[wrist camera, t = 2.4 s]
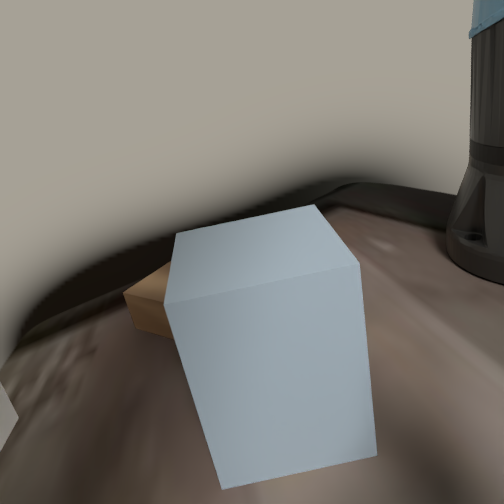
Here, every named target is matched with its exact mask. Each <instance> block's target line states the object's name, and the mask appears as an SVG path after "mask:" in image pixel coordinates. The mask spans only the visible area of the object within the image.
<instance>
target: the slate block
mask: <svg viewBox="0 0 504 504" xmlns="http://www.w3.org/2000/svg"><path fill="white" fill-rule="evenodd" d="M164 308H165V311H166V314H167V317H168V320H169V324H170V327H171V330H172V333H173V336H174V339H175V343H176V346H177V349H178V352H179V355H180V358H181V361H182V365H183V368H184V371H185V374H186V377H187V380H188V384H189V387H190V390H191V393H192V396H193V399H194V403H195V406H196V409H197V412H198V415H199V418H200V421H201V425H202V428H203V431H204V434H205V437H206V440H207V444H208V447H209V450H210V453H211V456H212V459H213V463H214V466H215V469H216V472H217V475H218V478H219V482H220V485H221V488H222V490H223V489H227V488H232V487H236V486H241V485H245V484H250V483H254V482H259V481H264V480H268V479H273V478H277V477H282V476H286V475H291V474H296V473H300V472H305V471H309V470H314V469H318V468H323V467H328V466H332V465H337V464H341V463H346V462H350V461H355V460H359V459H364V458H369V457H373V456H377V446H376V435H375V424H374V413H373V403H372V392H371V381H370V370H369V360H368V349H367V338H366V327H365V316H364V306H363V295H362V284H361V273H360V263H359V262H358V260H357V259H356V258H355V257H354V255H353V254H352V253H351V251H350V250H349V249H348V248H347V246H346V245H345V244H344V242H343V241H342V240H341V239H340V237H339V236H338V235H337V233H336V232H335V231H334V230H333V228H332V227H331V226H330V224H329V223H328V222H327V221H326V219H325V218H324V217H323V215H322V214H321V213H320V211H319V210H318V209H317V208H316V206H315V205H309V206H304V207H299V208H295V209H290V210H285V211H281V212H276V213H271V214H267V215H261V216H257V217H252V218H247V219H242V220H238V221H233V222H228V223H224V224H219V225H214V226H209V227H204V228H200V229H195V230H190V231H185V232H181V233H177V234H176V240H175V245H174V250H173V256H172V261H171V267H170V272H169V278H168V283H167V289H166V294H165V300H164Z"/></svg>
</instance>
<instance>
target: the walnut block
mask: <svg viewBox="0 0 504 504" xmlns="http://www.w3.org/2000/svg"><path fill="white" fill-rule="evenodd" d="M170 267H171V261H170V262H169V263H167V264H166V265H164V266H163V267H161V268H160V269H158V270H157V271H155V272H154V273H152V274H151V275H149V276H147V277H146V278H144V279H143V280H141V281H140V282H138V283H137V284H135V285H134V286H132V287H131V288H129V289H128V290H126V291H125V292H123V295H124V297H125V300H126V303H127V306H128V309H129V311H130V314H131V317H132V320H133V322H134V325H135V328H137V329H140V330H143V331H146V332H150V333H153V334H156V335H160V336H163V337H166V338H170V339H173V340H175V339H174V336H173V333H172V330H171V327H170V324H169V320H168V317H167V314H166V311H165V308H164V300H165V294H166V289H167V283H168V278H169V272H170Z"/></svg>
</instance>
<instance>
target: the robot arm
mask: <svg viewBox="0 0 504 504" xmlns="http://www.w3.org/2000/svg"><path fill="white" fill-rule="evenodd" d="M470 38H472V50H471V107H470V109H471V111H470V150H469V153H470V154H469V164H468V167H467V170H466V173H465V175H464V178H463V181H462V183H461V186H460V189H459V191H458V194H457V197H456V199H455V202H454V205H453V207H452V210H451V213H450V215H449V218H448V221H447V226H446V249H447V252H448V254H449V256H450V257H451V259H452V260H453V261H454V262H455V263H457V264H458V265H459V266H461V267H462V268H464V269H466V270H467V271H469V272H471V273H473V274H475V275H478V276H480V277H483V278H486V279H488V280H492V281H495V282H498V283H502V284H504V0H474V4H473V16H472V28H471V30H470V31H469V39H470ZM18 418H19V417H18V415H17V413H16V411H15V410H14V408H13V406H12V404H11V402H10V400H9V398H8V396H7V394H6V392H5V390H4V388H3V386H2V385H1V383H0V451H1V449H2V448H3V446H4V444H5V442H6V440H7V438H8V437H9V435H10V433H11V431H12V429H13V428H14V426H15V424H16V422H17V420H18Z"/></svg>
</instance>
